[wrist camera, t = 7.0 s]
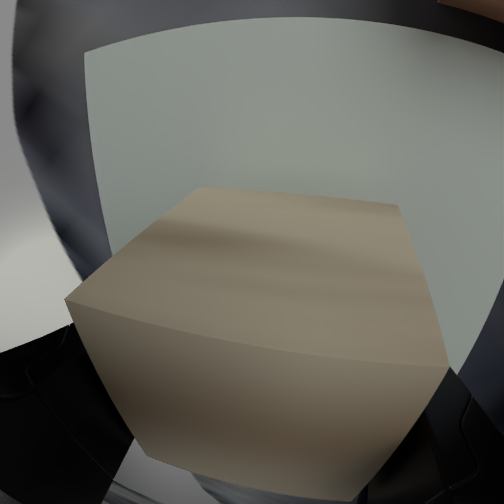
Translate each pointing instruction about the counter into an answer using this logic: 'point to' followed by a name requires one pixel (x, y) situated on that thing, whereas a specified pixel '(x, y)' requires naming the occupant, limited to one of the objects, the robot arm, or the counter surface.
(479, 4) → the brownish pink cube
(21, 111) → the counter surface
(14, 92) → the counter surface
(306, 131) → the baseplate
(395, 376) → the beech brick
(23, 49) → the counter surface
